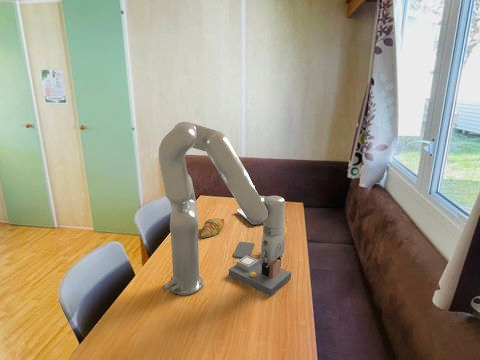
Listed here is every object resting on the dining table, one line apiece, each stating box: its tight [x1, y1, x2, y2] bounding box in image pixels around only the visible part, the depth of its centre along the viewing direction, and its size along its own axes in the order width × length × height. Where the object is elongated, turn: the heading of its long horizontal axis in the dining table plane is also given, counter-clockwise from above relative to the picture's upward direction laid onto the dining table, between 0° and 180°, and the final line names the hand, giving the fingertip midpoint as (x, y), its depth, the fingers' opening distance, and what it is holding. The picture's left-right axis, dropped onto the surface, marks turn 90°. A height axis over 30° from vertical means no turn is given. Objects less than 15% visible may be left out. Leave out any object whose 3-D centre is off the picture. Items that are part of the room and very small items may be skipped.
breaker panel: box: [228, 254, 292, 297], centre depth 122 cm, size 14×20×5 cm
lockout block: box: [265, 259, 282, 277], centre depth 120 cm, size 5×5×5 cm
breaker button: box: [241, 257, 255, 266], centre depth 125 cm, size 4×4×2 cm
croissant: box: [200, 217, 225, 239], centre depth 161 cm, size 21×10×8 cm, turn 155°
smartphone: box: [232, 241, 256, 259], centre depth 143 cm, size 8×1×15 cm
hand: (271, 270), depth 121 cm, fingers open, 7 cm apart
